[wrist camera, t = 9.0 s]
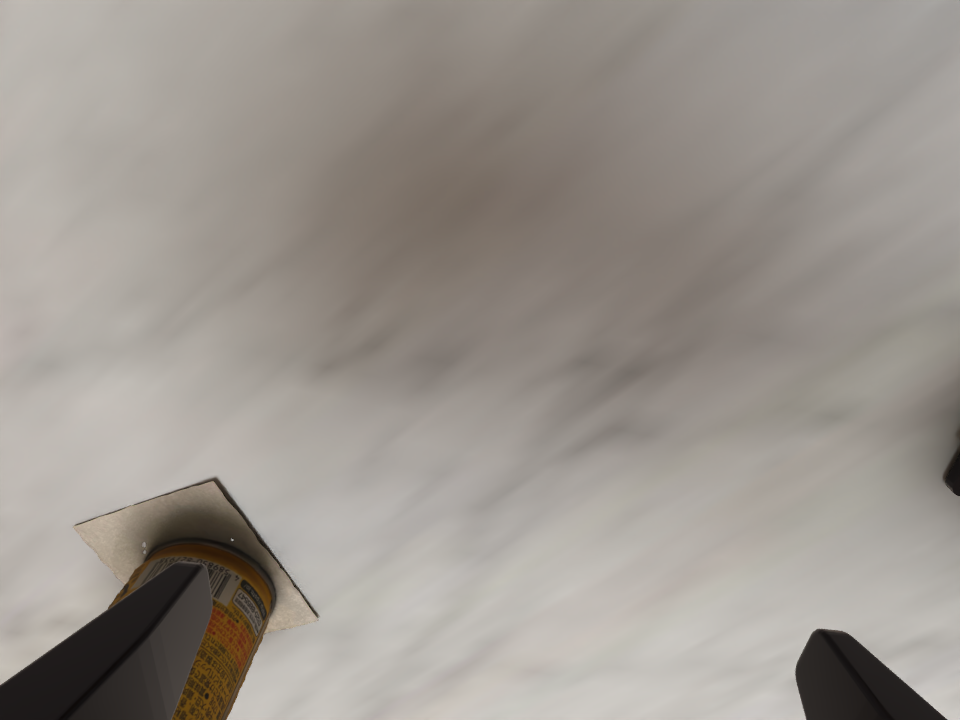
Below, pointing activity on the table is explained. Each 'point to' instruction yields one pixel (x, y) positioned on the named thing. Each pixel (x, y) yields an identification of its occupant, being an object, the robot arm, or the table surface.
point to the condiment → (232, 574)
